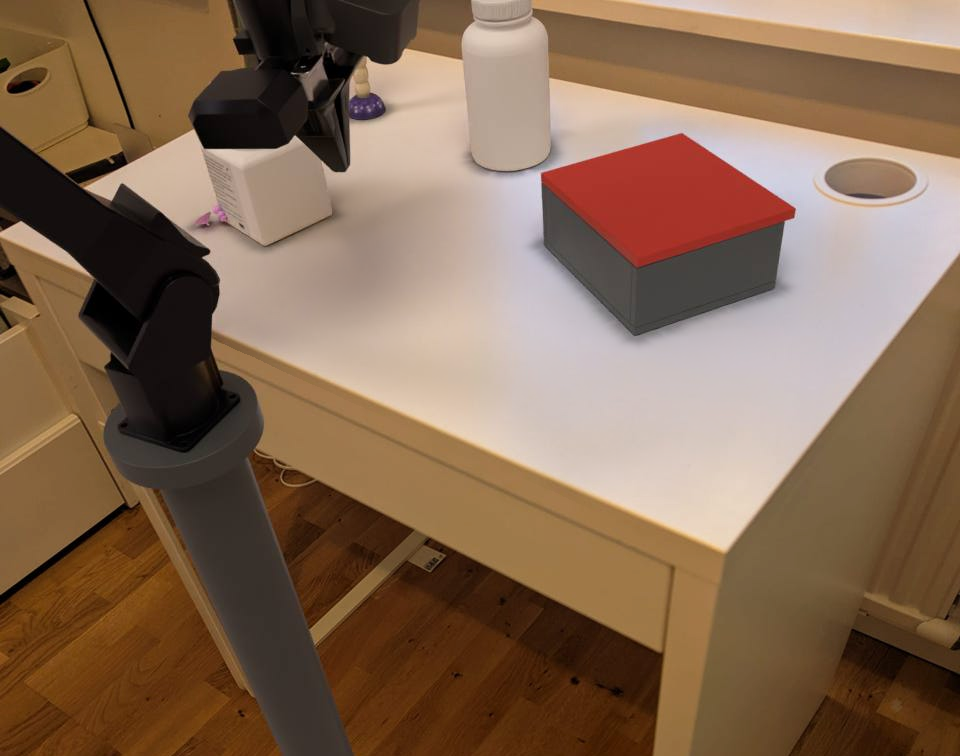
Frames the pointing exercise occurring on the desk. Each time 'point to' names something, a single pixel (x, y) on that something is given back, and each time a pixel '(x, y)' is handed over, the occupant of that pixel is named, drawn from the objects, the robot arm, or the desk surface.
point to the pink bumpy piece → (206, 216)
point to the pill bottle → (507, 85)
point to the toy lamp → (364, 96)
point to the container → (269, 188)
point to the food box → (661, 270)
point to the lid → (665, 198)
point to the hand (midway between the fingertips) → (342, 169)
